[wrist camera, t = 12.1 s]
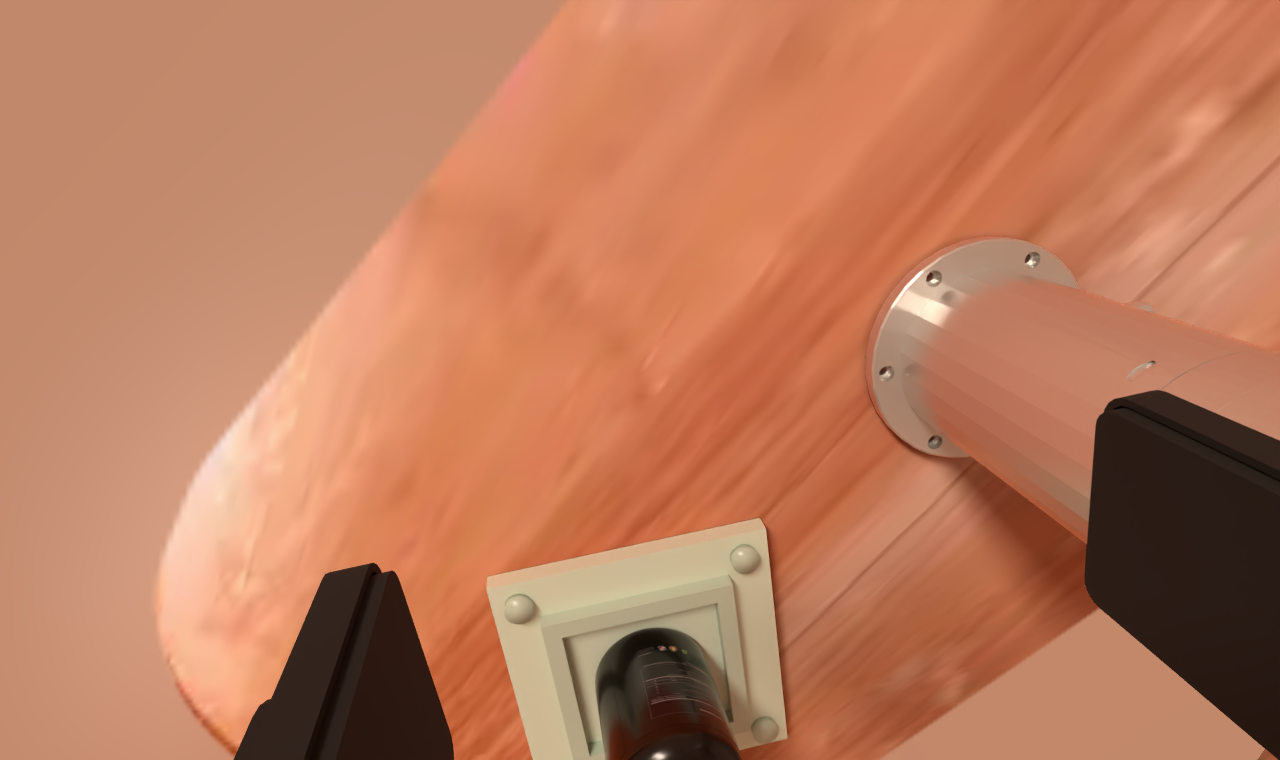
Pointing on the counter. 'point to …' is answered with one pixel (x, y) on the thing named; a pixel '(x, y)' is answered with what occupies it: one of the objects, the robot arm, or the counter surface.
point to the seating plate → (630, 601)
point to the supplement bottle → (661, 701)
